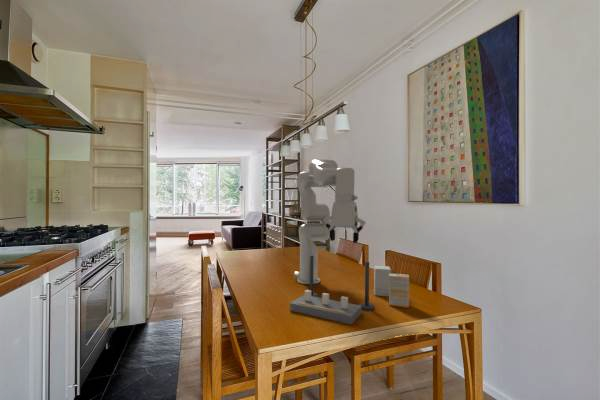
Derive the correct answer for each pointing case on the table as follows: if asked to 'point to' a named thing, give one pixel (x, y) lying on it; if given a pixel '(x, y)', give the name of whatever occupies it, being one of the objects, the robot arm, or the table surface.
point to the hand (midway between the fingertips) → (343, 241)
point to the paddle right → (344, 302)
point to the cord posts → (365, 305)
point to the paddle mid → (325, 298)
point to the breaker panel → (326, 309)
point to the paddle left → (307, 295)
